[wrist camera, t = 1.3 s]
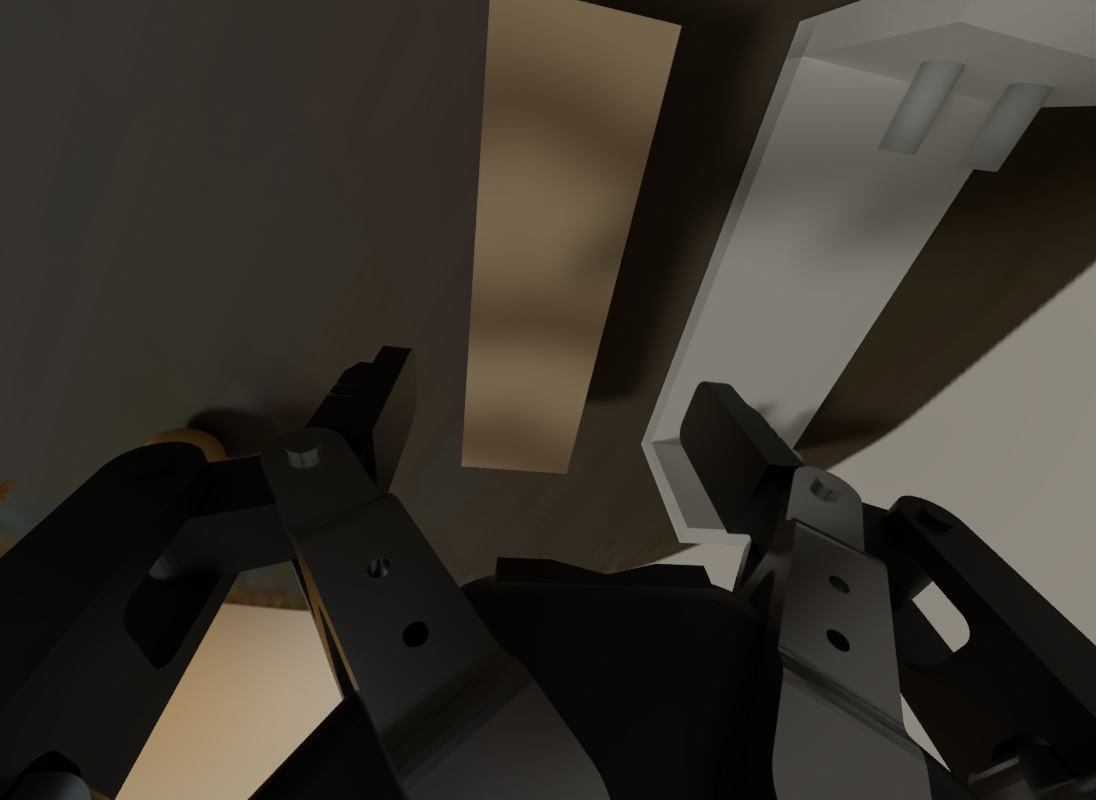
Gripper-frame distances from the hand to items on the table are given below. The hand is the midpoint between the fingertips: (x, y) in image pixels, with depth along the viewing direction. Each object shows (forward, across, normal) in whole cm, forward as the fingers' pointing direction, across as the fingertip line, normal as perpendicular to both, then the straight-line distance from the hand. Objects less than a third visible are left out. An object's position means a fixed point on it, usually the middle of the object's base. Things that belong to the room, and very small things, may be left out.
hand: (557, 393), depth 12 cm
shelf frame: (+12, -14, 0) cm, 18 cm away
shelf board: (+8, 0, 0) cm, 9 cm away
